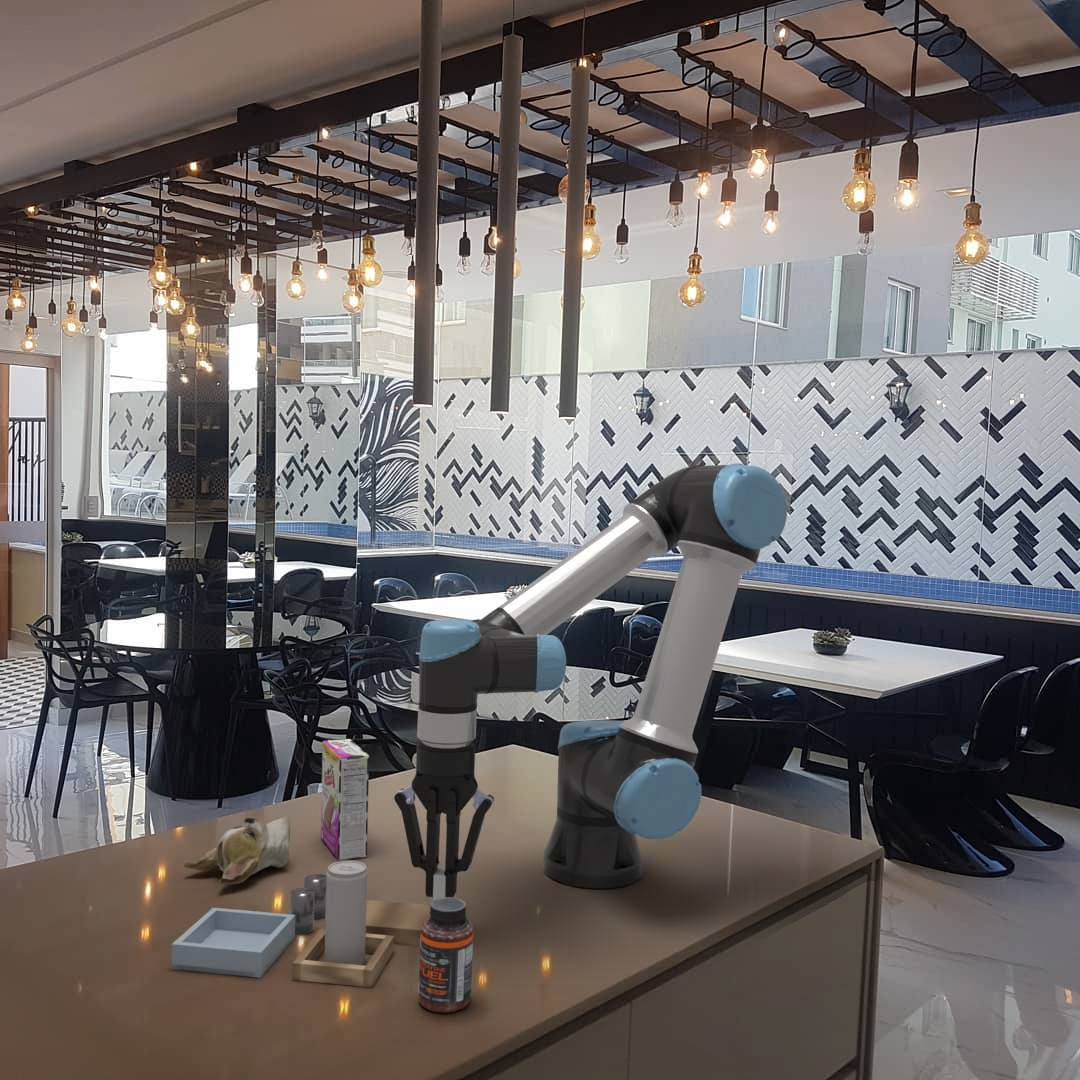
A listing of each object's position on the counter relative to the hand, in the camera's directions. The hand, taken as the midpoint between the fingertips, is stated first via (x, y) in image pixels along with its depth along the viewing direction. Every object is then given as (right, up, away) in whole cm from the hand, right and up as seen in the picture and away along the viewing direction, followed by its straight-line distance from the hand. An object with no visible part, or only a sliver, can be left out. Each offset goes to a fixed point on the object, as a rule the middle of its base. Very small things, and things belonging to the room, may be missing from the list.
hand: (439, 921), depth 134 cm
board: (-6, -2, +1) cm, 7 cm away
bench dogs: (-18, -1, +2) cm, 18 cm away
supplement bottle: (+2, -3, -18) cm, 18 cm away
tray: (-24, -1, -7) cm, 26 cm away
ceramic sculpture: (-30, 0, +19) cm, 36 cm away
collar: (-11, -2, -10) cm, 14 cm away
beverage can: (-11, -2, -10) cm, 14 cm away
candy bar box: (-18, 0, +31) cm, 36 cm away
